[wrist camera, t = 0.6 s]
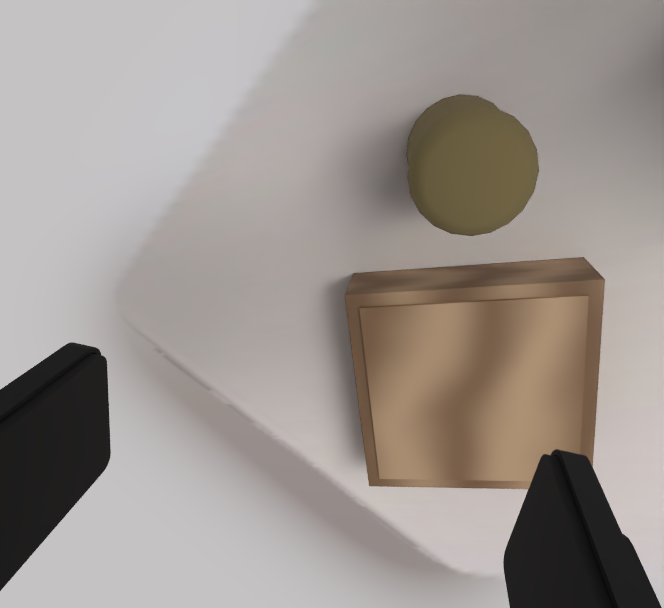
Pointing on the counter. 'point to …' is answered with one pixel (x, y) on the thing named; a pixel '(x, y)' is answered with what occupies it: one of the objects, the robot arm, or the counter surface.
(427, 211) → the olive tapered piece
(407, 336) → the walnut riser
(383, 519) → the counter surface
